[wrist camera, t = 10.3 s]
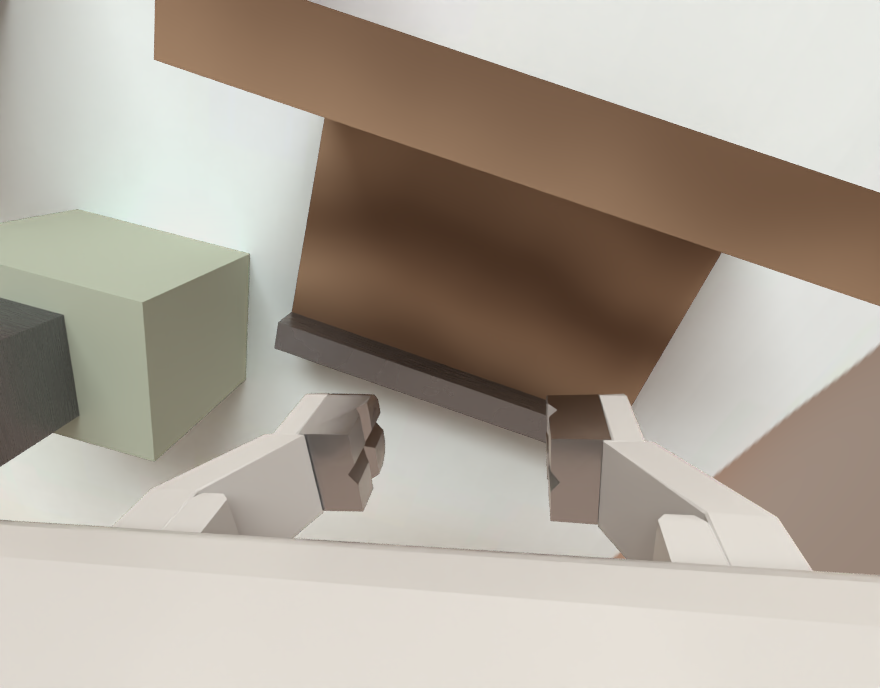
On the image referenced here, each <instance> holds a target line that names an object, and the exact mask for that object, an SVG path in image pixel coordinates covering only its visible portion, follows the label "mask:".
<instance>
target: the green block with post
mask: <svg viewBox="0 0 880 688" xmlns="http://www.w3.org/2000/svg"><path fill="white" fill-rule="evenodd" d="M249 263H250V254H249V253H245V252H241V251H238V250H234V249H230V248H226V247H222V246H218V245H214V244H210V243H207V242H203V241H199V240H195V239H191V238H187V237H183V236H180V235H176V234H172V233H168V232H164V231H160V230H156V229H152V228H149V227H145V226H141V225H137V224H133V223H129V222H125V221H122V220H118V219H114V218H110V217H106V216H102V215H98V214H94V213H91V212H87V211H83V210H79V209H75V210H70V211H64V212H58V213H53V214H47V215H42V216H36V217H30V218H25V219H19V220H13V221H8V222H2V223H0V466H2V465H4V464H5V463H7V462H8V461H10V460H11V459H13V458H14V457H16V456H18V455H19V454H21V453H22V452H24V451H25V450H27V449H28V448H30V447H31V446H33V445H35V444H36V443H38V442H39V441H41V440H42V439H44V438H45V437H47V436H49V435H50V434H52V433H56V434H59V435H63V436H66V437H70V438H73V439H77V440H80V441H84V442H87V443H91V444H94V445H98V446H101V447H105V448H108V449H112V450H115V451H118V452H122V453H125V454H129V455H132V456H136V457H139V458H143V459H146V460H150V461H153V462H155V461H156V460H157V459H158V458H159V457H160V456H161V455H163V454H164V453H165V452H166V451H167V450H168V449H169V448H170V447H171V446H173V445H174V444H175V443H176V442H177V441H178V440H179V439H180V438H181V437H182V436H184V435H185V434H186V433H187V432H188V431H189V430H190V429H191V428H192V427H194V426H195V425H196V424H197V423H198V422H199V421H200V420H201V419H202V418H204V417H205V416H206V415H207V414H208V413H209V412H210V411H211V410H212V409H213V408H215V407H216V406H217V405H218V404H219V403H220V402H221V401H222V400H223V399H225V398H226V397H227V396H228V395H229V394H230V393H231V392H232V391H233V390H235V389H236V388H237V387H238V386H239V385H240V384H241V383H242V382H243V381H244V380H246V358H247V326H248V295H249Z"/></svg>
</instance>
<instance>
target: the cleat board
mask: <svg viewBox="0 0 880 688" xmlns="http://www.w3.org/2000/svg"><path fill="white" fill-rule="evenodd" d="M154 60H157V61H160V62H162V63H165V64H168V65H171V66H174V67H177V68H180V69H183V70H186V71H189V72H192V73H195V74H198V75H201V76H204V77H207V78H210V79H213V80H215V81H218V82H221V83H224V84H227V85H230V86H233V87H236V88H239V89H242V90H245V91H248V92H251V93H254V94H257V95H260V96H263V97H266V98H268V99H271V100H274V101H277V102H280V103H283V104H286V105H289V106H292V107H295V108H298V109H301V110H304V111H307V112H310V113H313V114H316V115H319V116H321V117H324V118H325V119H324V124H323V130H322V136H321V142H320V148H319V154H318V160H317V166H316V172H315V178H314V184H313V190H312V195H311V201H310V207H309V213H308V219H307V225H306V231H305V237H304V243H303V249H302V255H301V261H300V266H299V272H298V278H297V284H296V290H295V296H294V302H293V308H292V312H291V313H290V314H288V315H287V316H286V317H285V318H283V319H282V320H281V321H280V322H278V328H277V335H276V341H275V349H278V350H281V351H284V352H287V353H290V354H293V355H295V356H298V357H301V358H304V359H307V360H310V361H313V362H315V363H318V364H321V365H324V366H327V367H330V368H333V369H336V370H338V371H341V372H344V373H347V374H350V375H353V376H356V377H359V378H361V379H364V380H367V381H370V382H373V383H376V384H379V385H382V386H384V387H387V388H390V389H393V390H396V391H399V392H402V393H404V394H407V395H410V396H413V397H416V398H419V399H422V400H425V401H427V402H430V403H433V404H436V405H439V406H442V407H445V408H448V409H450V410H453V411H456V412H459V413H462V414H465V415H468V416H471V417H473V418H476V419H479V420H482V421H485V422H488V423H491V424H494V425H496V426H499V427H502V428H505V429H508V430H511V431H514V432H516V433H519V434H522V435H525V436H528V437H531V438H534V439H537V440H539V441H542V442H545V443H546V432H547V423H546V396H547V395H594V394H598V395H604V394H625V395H626V396H627V397H628V400H629V402H630V405H631V406H632V404H633V402H634V401H635V399H636V397H637V396H638V394H639V392H640V390H641V389H642V387H643V385H644V384H645V382H646V380H647V379H648V377H649V375H650V373H651V372H652V370H653V368H654V367H655V365H656V363H657V362H658V360H659V358H660V356H661V355H662V353H663V351H664V350H665V348H666V346H667V345H668V343H669V341H670V339H671V338H672V336H673V334H674V333H675V331H676V329H677V328H678V326H679V324H680V322H681V321H682V319H683V317H684V316H685V314H686V312H687V311H688V309H689V307H690V305H691V304H692V302H693V300H694V299H695V297H696V295H697V294H698V292H699V290H700V288H701V287H702V285H703V283H704V282H705V280H706V278H707V276H708V275H709V273H710V271H711V270H712V268H713V266H714V265H715V263H716V261H717V259H718V258H719V256H720V254H721V253H725V254H728V255H731V256H734V257H737V258H740V259H743V260H746V261H749V262H752V263H754V264H757V265H760V266H763V267H766V268H769V269H772V270H775V271H778V272H781V273H784V274H787V275H790V276H793V277H796V278H799V279H802V280H805V281H807V282H810V283H813V284H816V285H819V286H822V287H825V288H828V289H831V290H834V291H837V292H840V293H843V294H846V295H849V296H852V297H855V298H858V299H860V300H863V301H866V302H869V303H872V304H875V305H878V306H880V193H879V192H876V191H873V190H870V189H867V188H864V187H861V186H858V185H855V184H852V183H849V182H846V181H843V180H840V179H837V178H834V177H831V176H828V175H825V174H822V173H819V172H816V171H814V170H811V169H808V168H805V167H802V166H799V165H796V164H793V163H790V162H787V161H784V160H781V159H778V158H775V157H772V156H769V155H766V154H763V153H760V152H757V151H754V150H751V149H748V148H745V147H742V146H739V145H736V144H733V143H730V142H727V141H724V140H721V139H718V138H715V137H712V136H709V135H706V134H703V133H700V132H697V131H694V130H691V129H688V128H685V127H682V126H679V125H676V124H673V123H670V122H668V121H665V120H662V119H659V118H656V117H653V116H650V115H647V114H644V113H641V112H638V111H635V110H632V109H629V108H626V107H623V106H620V105H617V104H614V103H611V102H608V101H605V100H602V99H599V98H596V97H593V96H590V95H587V94H584V93H581V92H578V91H575V90H572V89H569V88H566V87H563V86H560V85H557V84H554V83H551V82H548V81H545V80H542V79H539V78H536V77H533V76H530V75H527V74H524V73H521V72H519V71H516V70H513V69H510V68H507V67H504V66H501V65H498V64H495V63H492V62H489V61H486V60H483V59H480V58H477V57H474V56H471V55H468V54H465V53H462V52H459V51H456V50H453V49H450V48H447V47H444V46H441V45H438V44H435V43H432V42H429V41H426V40H423V39H420V38H417V37H414V36H411V35H408V34H405V33H402V32H399V31H396V30H393V29H390V28H387V27H384V26H381V25H378V24H375V23H373V22H370V21H367V20H364V19H361V18H358V17H355V16H352V15H349V14H346V13H343V12H340V11H337V10H334V9H331V8H328V7H325V6H322V5H319V4H316V3H313V2H310V1H307V0H155V34H154Z"/></svg>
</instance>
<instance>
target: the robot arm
mask: <svg viewBox="0 0 880 688" xmlns="http://www.w3.org/2000/svg"><path fill="white" fill-rule="evenodd" d="M379 415H380V408H379V403H378V399H377V397H376V396H375V395H371V394H329V393H313V394H306V395H305V396H304V397H303V398H302V399H301V400H300V402H299V403H298V404H297V405H296V406H295V408H294V409H293V410H292V411H291V412H290V414H289V415H288V416H287V417H286V418H285V420H284V421H283V422H282V423H281V424H280V426H279V427H278V428H277V429H276V431H275V432H274V433H273V434H264V435H262V436H260V437H258V438H256V439H254V440H252V441H250V442H248V443H246V444H243V445H241V446H239V447H237V448H235V449H233V450H231V451H229V452H227V453H225V454H223V455H220V456H218V457H216V458H214V459H212V460H210V461H208V462H206V463H204V464H202V465H200V466H197V467H195V468H193V469H191V470H189V471H187V472H185V473H183V474H181V475H179V476H177V477H175V478H172V479H170V480H168V481H166V482H164V483H162V484H160V485H158V486H156V487H154V488H152V489H150V490H149V491H148V492H147V493H146V494H145V495H144V496H143V497H142V498H141V499H140V500H139V501H138V502H137V503H136V504H135V505H134V506H133V507H132V508H131V509H130V510H128V511H127V512H126V513H125V514H124V515H123V516H122V517H121V518H120V519H119V520H118V521H117V522H116V523H115V524H114V525H113V526H112V527H105V526H89V525H73V524H57V523H41V522H25V521H9V520H0V688H880V575H868V574H852V573H836V572H821V571H812V569H811V567H810V566H809V564H808V563H807V561H806V560H805V558H804V557H803V555H802V554H801V552H800V551H799V549H798V548H797V546H796V545H795V543H794V542H793V540H792V539H791V537H790V536H789V534H788V532H787V531H786V529H785V528H784V526H783V525H782V523H781V522H780V520H779V519H778V517H776V516H774V515H773V514H771V513H769V512H768V511H766V510H764V509H763V508H761V507H760V506H758V505H756V504H755V503H753V502H751V501H750V500H748V499H746V498H745V497H743V496H742V495H740V494H738V493H736V492H735V491H733V490H732V489H730V488H729V487H727V486H725V485H724V484H722V483H720V482H719V481H717V480H715V479H714V478H712V477H711V476H709V475H707V474H706V473H704V472H702V471H701V470H699V469H698V468H696V467H694V466H693V465H691V464H689V463H688V462H686V461H685V460H683V459H681V458H680V457H678V456H676V455H675V454H673V453H671V452H670V451H668V450H667V449H665V448H663V447H662V446H660V445H658V444H657V443H655V442H654V441H645V439H644V437H643V434H642V432H641V429H640V427H639V424H638V422H637V419H636V417H635V415H634V412H633V410H632V407H631V405H630V402H629V400H628V397H627V396H626V395H625V394H604V395H598V394H594V395H547V396H546V423H547V432H546V466H547V480H548V496H549V507H550V519H551V521H559V522H572V523H585V524H598V527H599V528H600V529H601V530H602V532H603V533H604V534H605V535H606V536H607V537H608V539H609V540H610V541H611V542H612V543H613V544H614V545H615V547H616V548H617V549H618V550H619V551H620V552H621V553H622V555H623V556H624V557H625V558H626V559H615V558H599V557H583V556H566V555H550V554H534V553H518V552H502V551H486V550H470V549H454V548H439V547H423V546H407V545H391V544H375V543H359V542H343V541H327V540H311V539H295V538H294V537H295V536H296V535H297V534H298V533H300V532H301V531H302V530H303V529H304V528H306V527H307V526H308V525H309V524H310V523H311V522H313V521H314V520H315V519H316V518H317V517H319V516H320V515H321V514H322V513H323V511H364V509H365V507H366V504H367V502H368V500H369V497H370V495H371V492H372V490H373V484H372V478H374V477H375V476H377V475H378V474H379V473H380V471H381V468H382V466H383V461H384V455H385V438H384V431H383V429H382V428H381V427H380V426H379V425H378V424H377V423H376V421H377V419H378V417H379Z"/></svg>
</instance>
